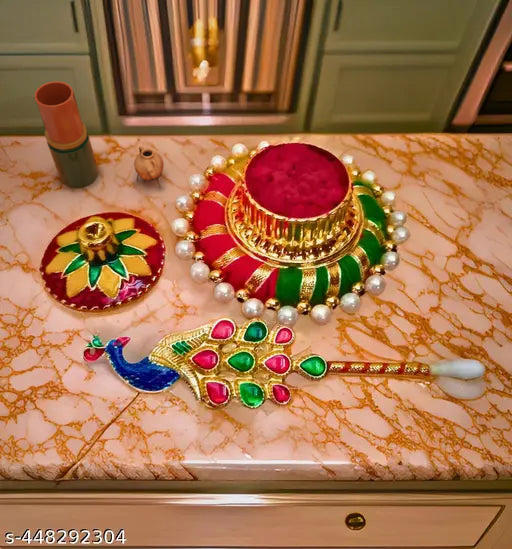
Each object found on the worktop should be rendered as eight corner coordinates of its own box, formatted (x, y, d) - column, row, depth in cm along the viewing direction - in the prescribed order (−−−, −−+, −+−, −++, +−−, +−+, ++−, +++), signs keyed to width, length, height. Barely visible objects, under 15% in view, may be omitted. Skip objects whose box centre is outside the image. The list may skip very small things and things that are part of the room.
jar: (67, 193, 118) (52, 151, 108) (54, 168, 122) (38, 125, 112) (104, 179, 121) (92, 137, 110) (90, 154, 124) (77, 111, 114)
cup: (55, 148, 108) (41, 111, 101) (43, 126, 112) (29, 88, 104) (88, 136, 110) (78, 99, 103) (76, 114, 114) (65, 77, 106)
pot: (142, 168, 123) (132, 188, 119) (139, 138, 117) (128, 157, 113) (169, 173, 123) (159, 193, 119) (167, 143, 117) (157, 163, 113)
